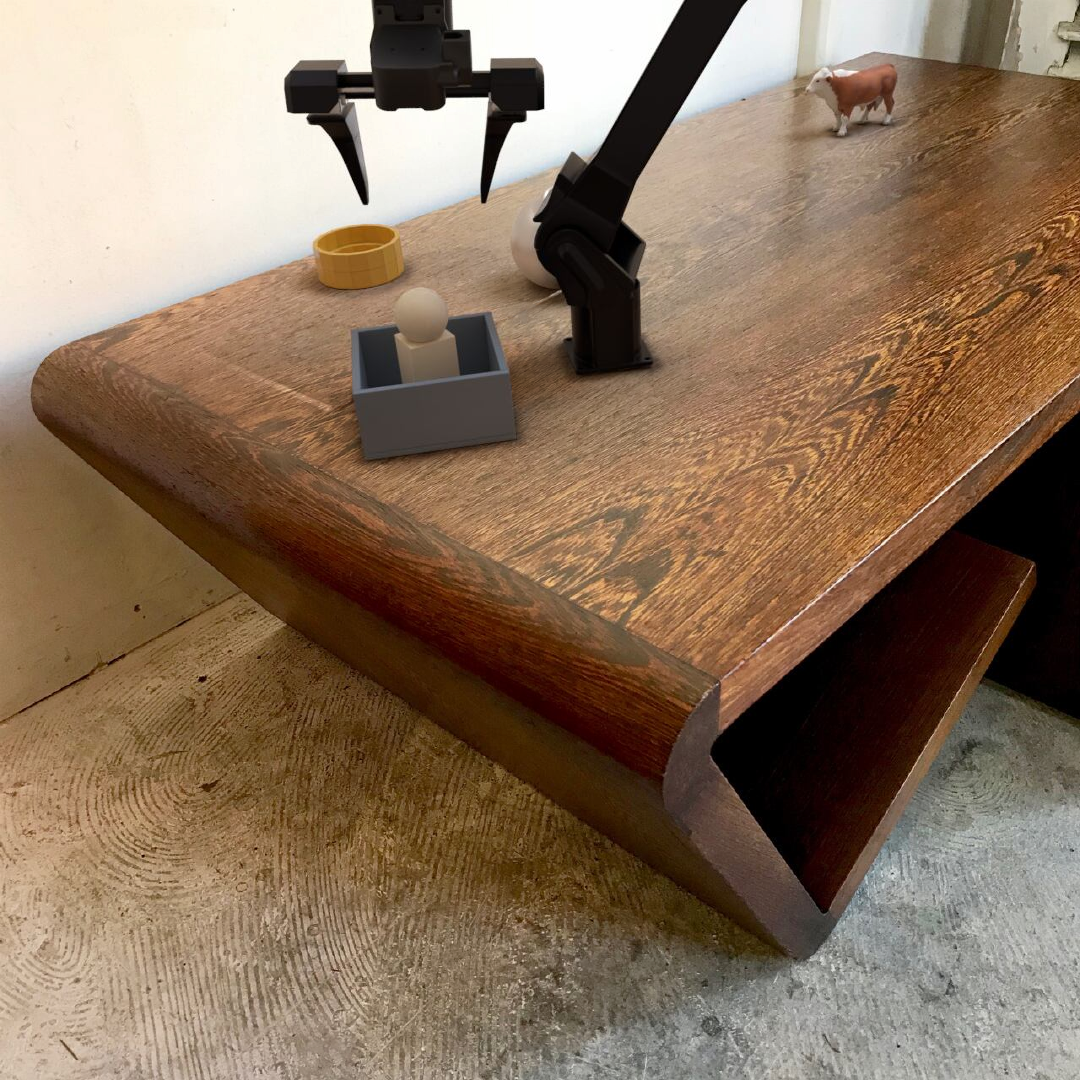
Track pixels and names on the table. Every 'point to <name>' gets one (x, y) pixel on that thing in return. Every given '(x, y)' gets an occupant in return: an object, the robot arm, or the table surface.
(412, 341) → the ball-topped square peg
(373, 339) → the bin
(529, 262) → the ghost figurine
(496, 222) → the table surface
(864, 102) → the bull figurine
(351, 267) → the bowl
